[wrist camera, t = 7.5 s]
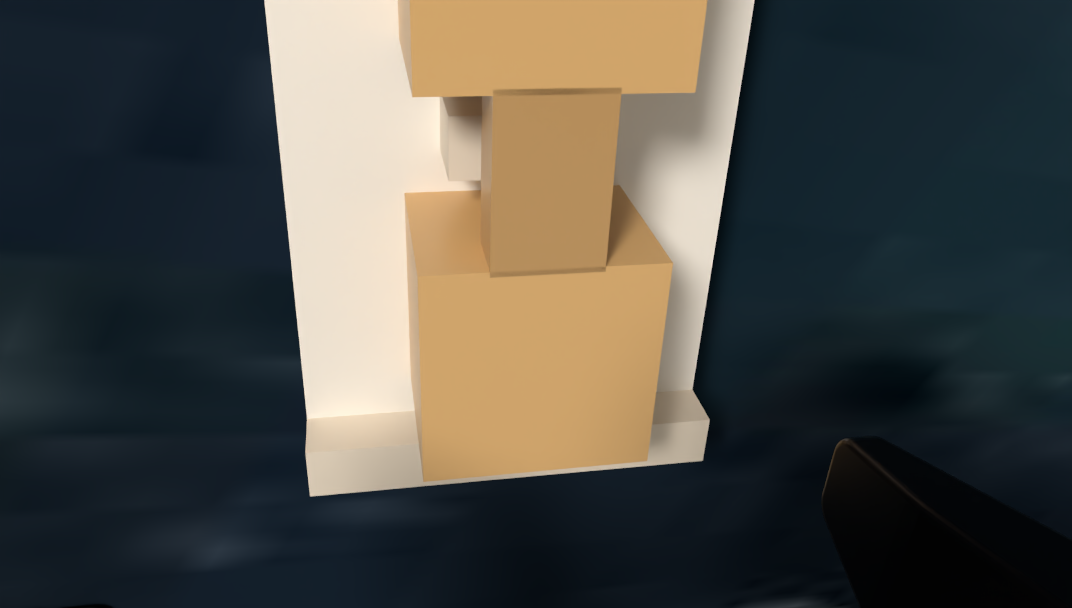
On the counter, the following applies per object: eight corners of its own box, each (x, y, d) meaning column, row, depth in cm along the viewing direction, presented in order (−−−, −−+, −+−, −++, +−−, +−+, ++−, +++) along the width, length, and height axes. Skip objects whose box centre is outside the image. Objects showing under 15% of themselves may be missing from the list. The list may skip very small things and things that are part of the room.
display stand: (764, -360, 16) (864, -392, 13) (661, 383, 24) (708, 471, 21) (234, -405, 14) (206, -454, 11) (313, 409, 22) (309, 509, 19)
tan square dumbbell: (658, -233, 15) (738, -235, 12) (603, 363, 21) (646, 461, 18) (388, -247, 14) (403, -253, 11) (410, 376, 20) (423, 481, 17)
